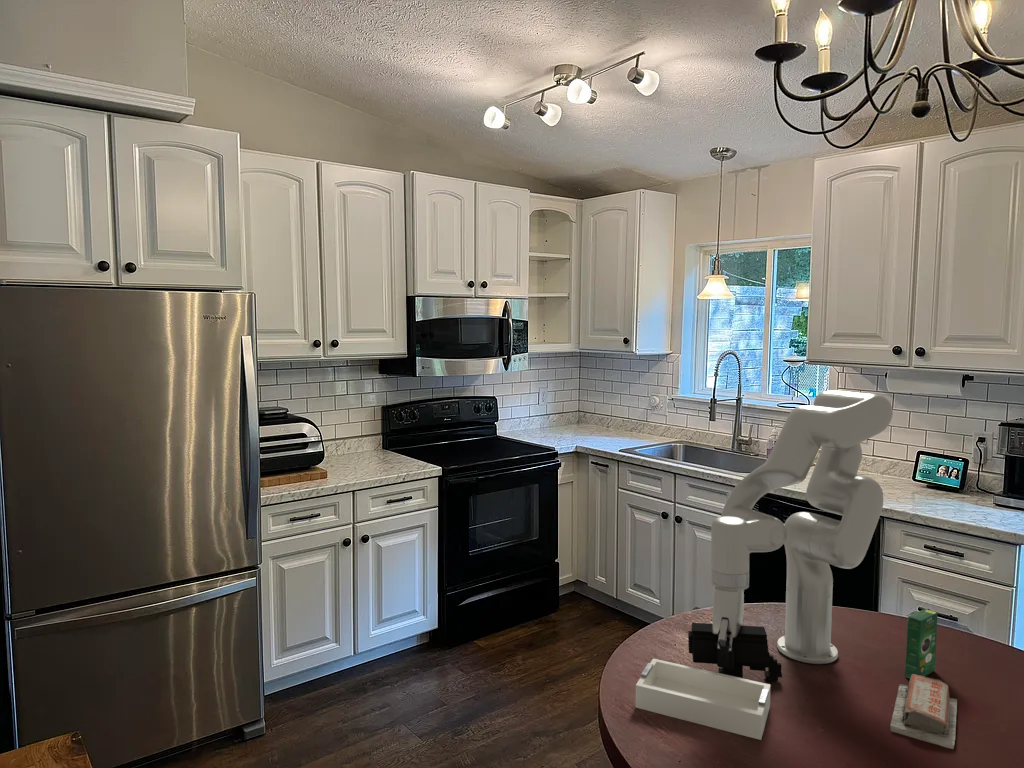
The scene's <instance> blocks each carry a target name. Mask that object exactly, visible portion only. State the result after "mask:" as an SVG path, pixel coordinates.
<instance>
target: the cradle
mask: <svg viewBox="0 0 1024 768" xmlns="http://www.w3.org/2000/svg"><path fill="white" fill-rule="evenodd" d="M771 686H772V685H771V684H770V683H764V682H760V681H757V680H751V679H747V678H739V677H734V676H730V675H725V674H721V673H719V672H715V671H711V670H706V669H702V668H698V667H695V666H694V667H693V666H688V665H683V664H680V663H676V662H671V661H667V660H661V659H658V658H652V660H651V661H650V662H648V663H647V664H646V666H645V667H644V668H643V670H642V672H641V673H640V678H639V679H638V681H637V683H636V684H635V707H634V708H636V709H640V710H644V711H648V712H652V713H655V714H659V715H664V716H667V717H671V718H674V719H679V720H683V721H686V722H690V723H694V724H697V725H702V726H706V727H710V728H713V729H716V730H721V731H725V732H728V733H733V734H735V735H740V736H745V737H747V738H752V739H755V740H759V741H762V737H763V735H764V731H765V727H766V723H767V719H768V715H769V713H770V709H771Z"/></svg>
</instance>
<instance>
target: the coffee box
mask: <svg viewBox="0 0 1024 768" xmlns="http://www.w3.org/2000/svg"><path fill="white" fill-rule="evenodd" d="M938 613H939V612H938V611H934V610H931V609H928V608H924V609H922V610H919V611H917V612H915V613H913V614H910V615H908V616H907V631H906V633H907V634H906V646H905V647H906V649H905V651H906V652H905V654H906V655H905V669H904V677H906V678H907V679H909V680H910V677H911V675H912V674H916V675H920V676H925V677H928V675H930V674H932V673H933V672H935V670H936V659H937V658H936V657H937V656H936V652H937V633H938V632H937V630H938V617H939V616H938Z"/></svg>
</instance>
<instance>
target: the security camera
mask: <svg viewBox="0 0 1024 768" xmlns="http://www.w3.org/2000/svg"><path fill="white" fill-rule="evenodd" d="M727 634H730V635H731V632H727ZM687 635H688V637H687V640H688V641H687V642H688V644H687V645H688V654H691V656H692V663H695V664H709V665H710V664H712V665H717V647H718V638H719V632H718V634H715V635H714V634H713V633H712V623H703V622H691V630H688V632H687ZM727 641H728V642H730V638H727ZM768 641H769V640H768V633H767V631H766V628H765V626H760V625H759V626H758V625H757V626H755V625H743V624H742V625H741V627H740V630H739V632H738V635H737V636H736V637H735V638H733V647H732V650H734V668H733V669H732V670H731V669H726V668H721V667H718V673H721V674H725V675H730V676H734V677H739V678H743V677H744V676H743V675H744V674H743V673H744V672H743V671H744V667H749V668H748V669H749V670H750V671H758V672H759V671H760V672H764V673H763V674H764V677H765V680H766V681H774V682H778V681H779V678H780V679H782V678H783V673H782V662H778V659H775V658H774V656H773V655H771V653H770V652H769V644H768ZM766 668H767V669H768V670H766ZM743 679H744V678H743Z"/></svg>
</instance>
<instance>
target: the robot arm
mask: <svg viewBox="0 0 1024 768" xmlns="http://www.w3.org/2000/svg"><path fill="white" fill-rule="evenodd" d="M893 413H894V412H893V405H892V404H891V402H890V401H889V400H888V398H886V397H885V396H883V395H880V394H877V393H871V392H870V393H869V392H859V391H849V390H838V389H837V390H835V389H834V390H833V389H832V390H831V389H830V390H824V391H822V392H819V393H818V394H817V395H816V397H815V398H814V401H813V405H811V404H810V405H809V404H807V405H806V404H805V405H798V406H795V408H793V409H792V410H791V411H790V413H789V414H788V415H787V417H786V420H785V422H784V424H783V426H782V428H781V430H780V433H779V435H778V436H777V439H776V441H775V443H774V444H773V447H772V449H771V451H770V453H769V455H768V457H767V459H766V461H765V462H763V464H762V465H760V466H758V467H757V468H755V469H754V470H752V471H751V472H749V474H747V475H746V476H745V477H744V478H742V479H741V480H740V481H739V482H738V483H737V484H736V485H735V486H734V487H733V489H732V491H731V492H730V494H729V496H728V498H727V500H726V501H725V504H724V506H723V509H722V512H721V515H720V516H718V517H716V518H714V519H713V520H712V522H711V530H710V531H711V532H710V534H711V537H710V542H711V544H710V545H711V546H710V547H711V548H710V551H711V553H710V555H711V556H710V557H711V559H710V560H711V561H710V563H711V564H710V566H711V568H710V569H711V570H710V573H711V574H710V575H711V576H710V584H711V585H712V586H713V587H714V591H713V592H714V594H713V602H712V603H713V604H712V607H713V608H712V623H711V624H712V633H713V634H714V635H715V634H718V632H719V638H718V647H717V664H716V665H717V667H718V668H726V669H731V670H732V669H733V668H734V650H732V647H733V638H735V637H736V636H737V635H738V632H739V630H740V627H741V625H742V626H743V621H744V613H745V612H744V610H745V609H744V608H745V606H744V605H745V603H744V602H745V599H744V598H745V594H744V592H745V590H748V589H749V587H750V554H751V553H768V552H769V553H770V552H773V551H776V550H779V549H780V548H781V547H782V546H783V545H784V550H785V555H786V556H785V557H786V584H785V585H786V588H785V589H786V591H785V623H784V625H785V626H784V635H782V636H781V637H779V638H778V639H777V642H776V646H777V649H778V650H779V652H780V653H781V654H783V655H784V656H786V657H787V658H790V659H791V660H795V661H798V662H800V663H806V664H813V665H824V664H826V665H827V664H830V663H833V662H835V661H836V660H837V659H838V657H839V650H838V648H837V647H836V646H835V645H834V644H832V643H831V641H832V617H833V616H832V614H833V613H832V612H833V592H834V591H833V587H834V584H833V583H834V578H833V572H832V569H831V566H830V565H832V566H834V567H837V568H840V569H847V570H852V569H854V568H856V567H858V566H859V565H860V564H861V563H862V561H864V558H865V557H866V555H867V551H868V550H869V547H870V544H871V542H872V538H873V537H874V536H873V535H874V533H875V530H876V528H877V526H878V524H879V523H878V522H879V520H880V516H881V514H882V510H883V507H884V493H883V489H882V486H881V485H880V484H879V483H878V482H877V481H876V480H875V479H873V478H871V477H869V476H866V475H862V474H861V475H860V474H858V472H859V469H860V466H861V462H862V459H863V449H862V445H861V443H863V442H865V441H866V440H868V439H870V438H873V437H875V436H877V435H879V434H880V433H882V432H883V431H885V430H886V429H887V428H888V426H889V425H890V423H891V421H892V418H893ZM820 448H821V449H820ZM819 450H820V451H819ZM818 453H819V454H818ZM817 455H819V456H818V457H817ZM816 457H817V461H816V463H815V465H814V468H813V471H812V473H811V475H810V478H809V481H808V483H807V487H806V491H805V492H806V493H805V497H806V500H807V502H808V503H809V504H810V506H812V507H814V508H817V509H819V510H821V511H824V512H828V513H831V514H835V515H839V516H842V517H841V520H838V519H835V518H832V517H828V516H824V515H821V514H817V513H814V512H811V511H810V512H809V511H799V512H795V513H792V514H791V515H790V516H788V517H787V518H786V520H785V522H783V521H782V520H780V519H779V518H778V517H775V516H773V515H770V514H766V513H764V512H761V511H758V510H755V509H753V508H754V506H755V504H756V503H757V502H758V501H759V500H760V499H761V498H762V497H764V496H765V495H767V494H768V493H770V492H772V491H774V490H775V491H776V490H777V489H781V488H785V487H789V486H794V485H796V484H797V485H798V484H799V483H800V484H801V483H803V481H805V480H806V478H807V476H808V474H809V471H810V469H811V467H812V465H813V463H814V461H815V458H816ZM727 632H731V635H730V634H727ZM727 638H730V642H728V641H727Z"/></svg>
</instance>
